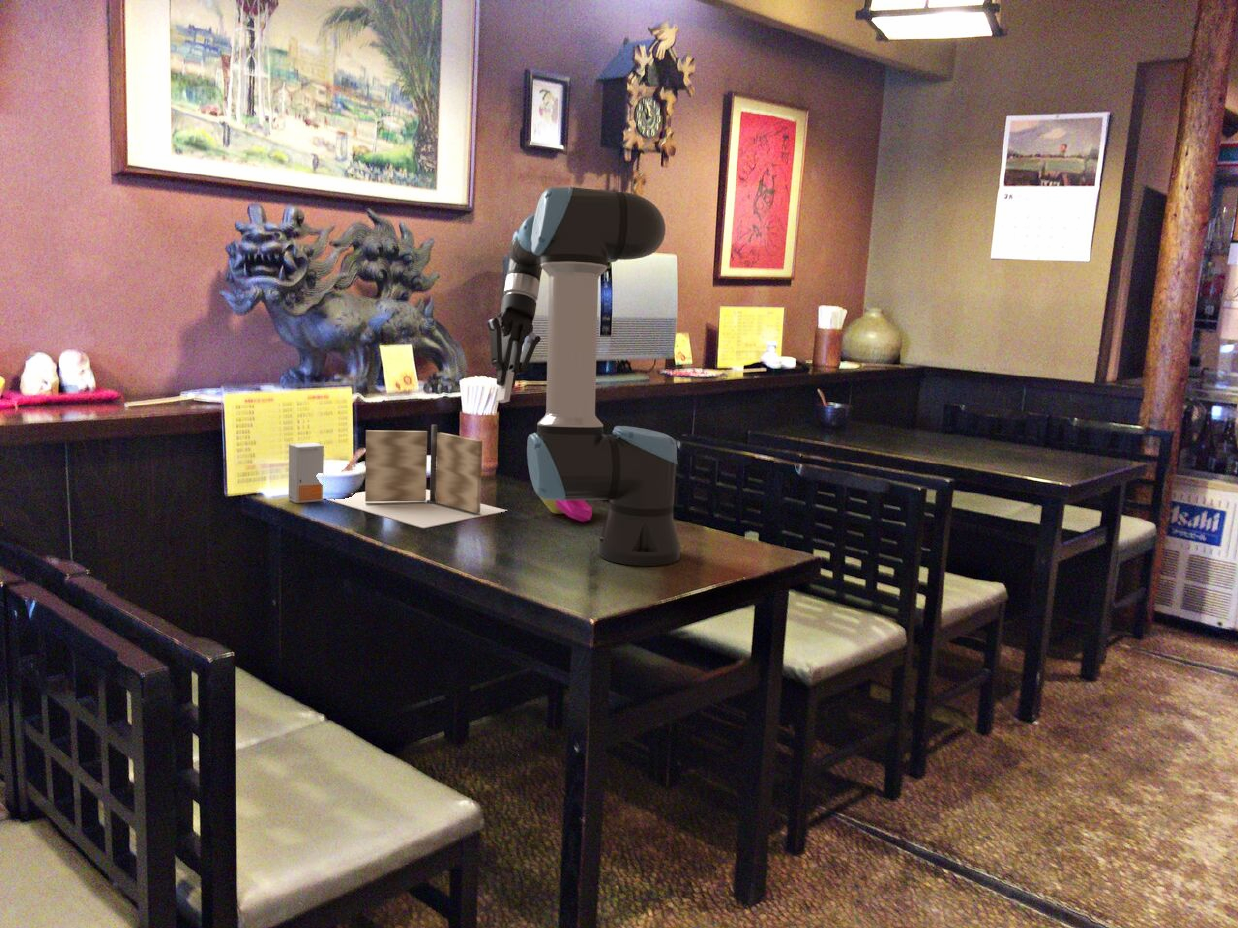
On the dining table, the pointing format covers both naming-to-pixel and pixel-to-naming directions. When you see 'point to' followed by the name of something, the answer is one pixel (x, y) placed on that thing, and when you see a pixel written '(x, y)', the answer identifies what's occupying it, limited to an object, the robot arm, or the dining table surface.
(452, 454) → the panel
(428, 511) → the card
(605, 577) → the dining table surface
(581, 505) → the toy
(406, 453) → the fence gate
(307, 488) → the skincare box
